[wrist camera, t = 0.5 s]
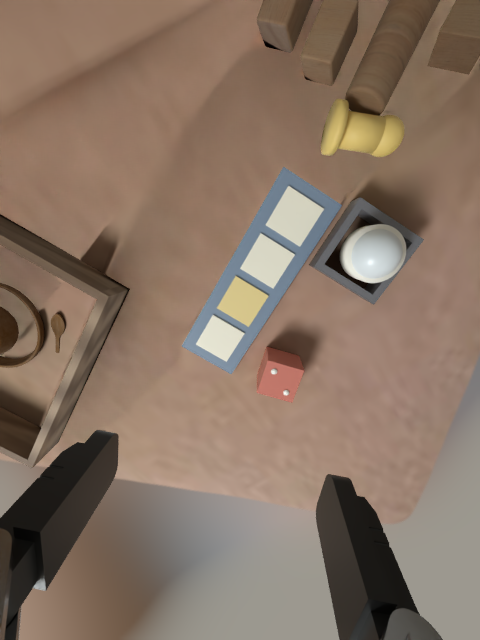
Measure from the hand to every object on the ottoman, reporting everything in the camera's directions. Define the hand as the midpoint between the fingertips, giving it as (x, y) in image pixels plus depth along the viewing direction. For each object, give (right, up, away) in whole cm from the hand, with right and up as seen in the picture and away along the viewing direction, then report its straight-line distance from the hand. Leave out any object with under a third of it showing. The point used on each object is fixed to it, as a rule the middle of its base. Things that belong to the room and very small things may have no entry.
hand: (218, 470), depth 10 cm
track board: (+3, +10, +22) cm, 25 cm away
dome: (+14, +13, +18) cm, 27 cm away
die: (+6, 0, +25) cm, 26 cm away
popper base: (+14, +13, +21) cm, 29 cm away
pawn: (+9, +24, +16) cm, 30 cm away
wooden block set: (+10, +27, +14) cm, 31 cm away
